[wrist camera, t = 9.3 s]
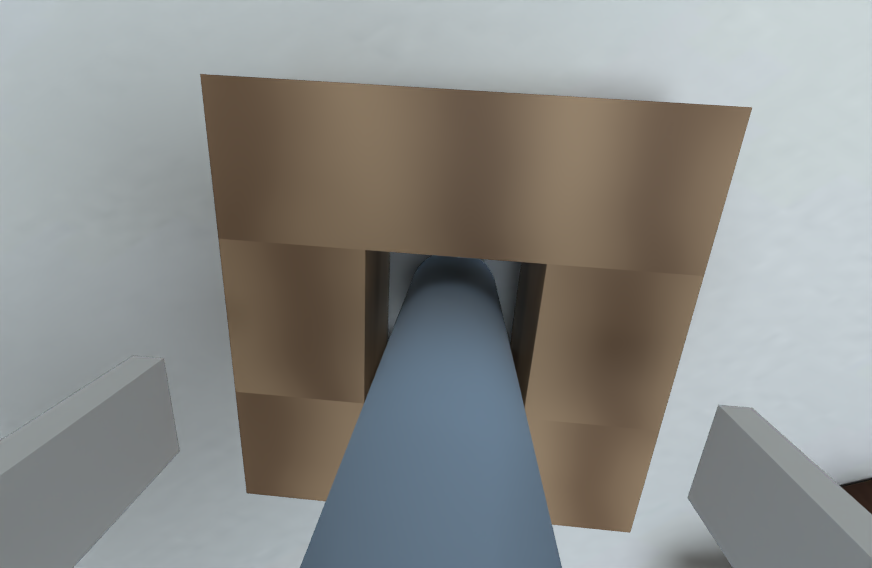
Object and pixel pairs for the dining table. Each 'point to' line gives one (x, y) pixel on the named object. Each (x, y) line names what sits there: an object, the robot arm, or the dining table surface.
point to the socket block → (469, 238)
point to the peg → (440, 443)
